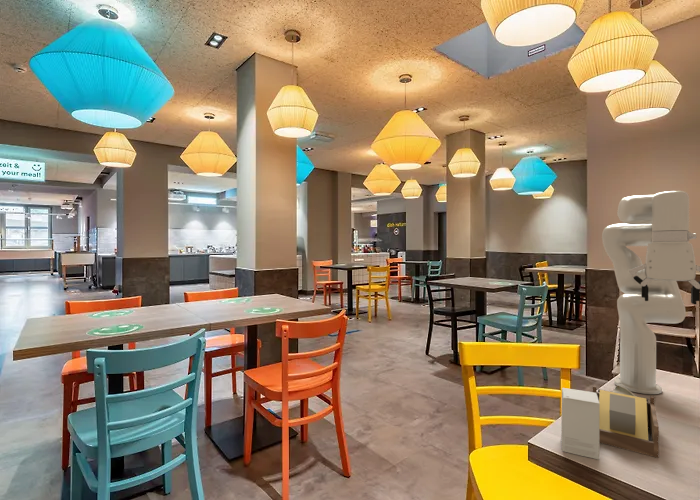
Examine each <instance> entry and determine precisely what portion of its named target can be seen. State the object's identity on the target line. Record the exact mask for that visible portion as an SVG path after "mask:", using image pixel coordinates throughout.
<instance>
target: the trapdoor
mask: <svg viewBox="0 0 700 500" xmlns="http://www.w3.org/2000/svg"><path fill="white" fill-rule="evenodd" d="M597 392H598V393H600V394H599V403H600V408H599V429H602V430H606V431H611V432H615V433H619V434H623V435H627V436H631V437H636V438H640V439H644V440H648V441H649V428H648V422H647V402H649V398H647V397H641V396H636V395H635V396H632V395H626V394H621V393H616V392H612V391H610V390H606V389H597ZM610 394H614V395H620V396H625V397H630V398H635V411H636V420H635V435H633V434H629V433H624V432H620V431H616V430H612V429H610V415H609V408H610Z"/></svg>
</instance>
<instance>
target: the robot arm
mask: <svg viewBox="0 0 700 500" xmlns="http://www.w3.org/2000/svg"><path fill="white" fill-rule="evenodd" d="M616 215H617V217H618V219H619V221H621V223H614V224H610V225H607V226H606V227H604V229H603V230H602V233H601V241H602V246H603V248H604V251H605V253H606V255H607V257H609V260H610V261H611V263H612V266H613V271H614V275H615V279H616V284H617V287H618V289H619V291H620V292H622V294H621V295H619V296H618V298H617V299H616V300H617V301H616V307H617V313H618V319H619V332H620V333H619V340H620V341H619V346H620V347H619V353H620V354H619V377H617V378H615V379H614V385H615V386H621V387H624V388H626V389H627V390H629V391H630V392H632V393H639V394H641V395H642V394H643V395H660V394H662V392H663V388H662V386H661V385H659V384H658V383H657V336H656V334H655V332H654V331H653V330H652V329H651V328H650V327H649V326H648V323H658V324H679V323H682V322H683V321H684V320H685V318H686V313H687V312H686V305H685V303H684V299H683V296H682V294H681V291H680V287H679V284H678V282H688V283H689V284H690V285H691V286H692V287H691V289H690V303H691V304H692V305H697V302H700V280H699V281H697V280H696V275H697V273H696V272H698V273H700V265H698V264H696V256H695V250H694V246H693V243H691V242H689V241H690V240H695V239H697V233H693V232H690V196H689V193H688V192H686V191H683V190H670V191H661V192H657V193H655V194H643V195H642V194H641V195H631V196H630V195H629V196H626V197H622V199H621V200H620V201H619V203H618V206H617V212H616ZM628 247H646V253H645V263H644V264H643V262H642V258H641V257H640V256H639V255H638V254H637V253H636V252H635V251H634V250H632V249H630V248H628Z"/></svg>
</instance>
